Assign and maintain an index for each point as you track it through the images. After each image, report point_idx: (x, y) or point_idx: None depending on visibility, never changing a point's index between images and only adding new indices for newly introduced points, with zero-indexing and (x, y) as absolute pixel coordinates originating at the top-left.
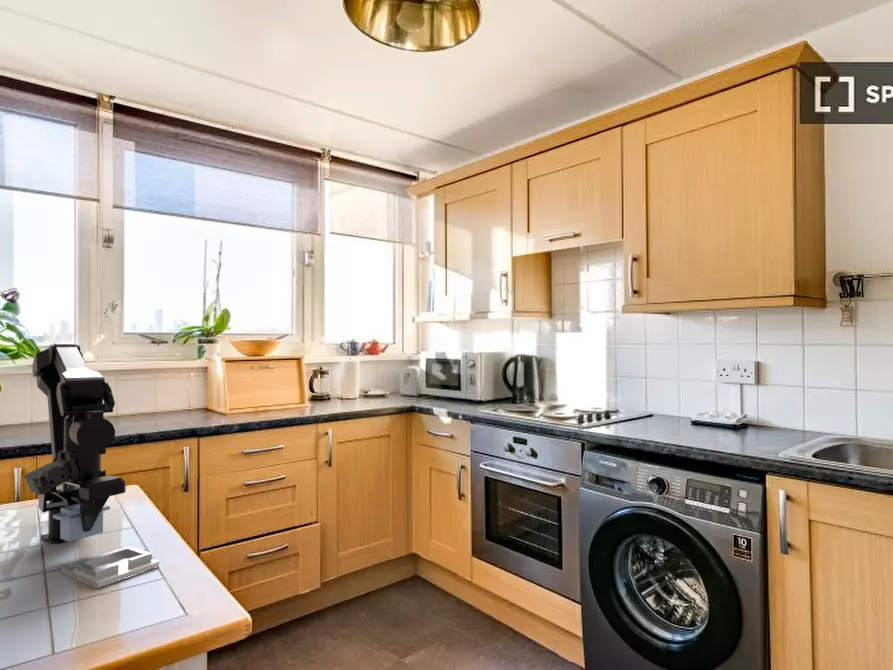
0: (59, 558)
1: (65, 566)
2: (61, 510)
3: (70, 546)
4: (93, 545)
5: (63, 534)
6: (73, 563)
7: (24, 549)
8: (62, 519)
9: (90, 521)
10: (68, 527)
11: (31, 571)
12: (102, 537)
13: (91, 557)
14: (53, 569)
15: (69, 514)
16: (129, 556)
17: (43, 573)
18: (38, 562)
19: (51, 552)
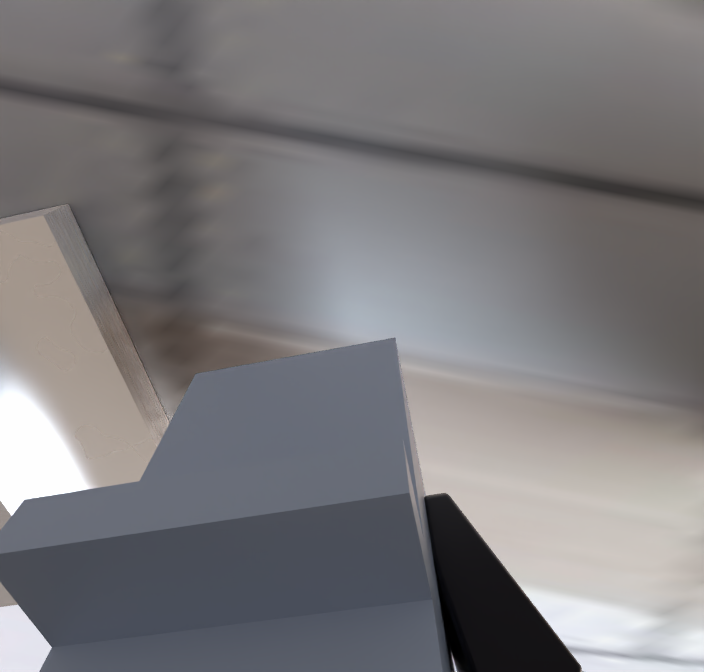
0: (426, 262)
1: (29, 240)
2: (389, 663)
3: (639, 372)
4: (516, 467)
5: (319, 380)
6: (72, 297)
7: None
8: (4, 526)
9: None
10: (173, 472)
11: (262, 24)
12: (628, 531)
13: (138, 407)
14: (190, 177)
15: (54, 670)
16: None
17: (141, 96)
18: (463, 120)
19: (631, 250)
